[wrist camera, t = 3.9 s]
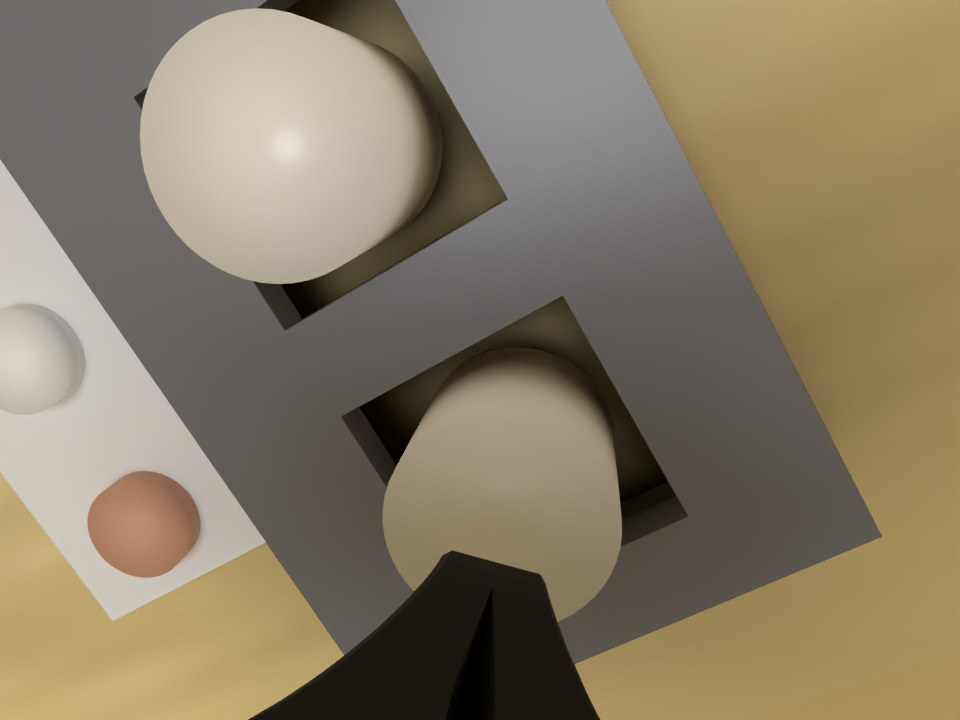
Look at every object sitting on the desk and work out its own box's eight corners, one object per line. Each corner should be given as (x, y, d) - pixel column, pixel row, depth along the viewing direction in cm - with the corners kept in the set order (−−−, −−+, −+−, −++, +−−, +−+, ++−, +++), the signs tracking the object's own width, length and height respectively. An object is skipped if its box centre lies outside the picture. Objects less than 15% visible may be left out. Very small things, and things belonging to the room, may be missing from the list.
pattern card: (297, 517, 21) (275, 547, 20) (128, 604, 23) (95, 638, 21) (-33, 32, 19) (-88, 23, 17) (-199, 165, 20) (-264, 169, 19)
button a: (647, 474, 17) (665, 575, 13) (485, 549, 18) (459, 664, 14) (554, 313, 16) (545, 371, 12) (392, 401, 17) (338, 480, 13)
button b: (480, 183, 16) (447, 202, 12) (316, 281, 17) (237, 328, 13) (371, -7, 15) (299, -51, 11) (206, 108, 16) (88, 104, 12)
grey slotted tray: (822, 453, 19) (881, 536, 15) (432, 628, 22) (400, 736, 18) (287, -573, 15) (184, -816, 11) (-114, -197, 17) (-309, -286, 14)
